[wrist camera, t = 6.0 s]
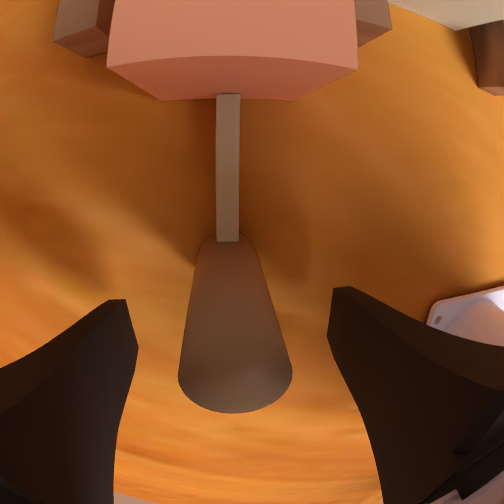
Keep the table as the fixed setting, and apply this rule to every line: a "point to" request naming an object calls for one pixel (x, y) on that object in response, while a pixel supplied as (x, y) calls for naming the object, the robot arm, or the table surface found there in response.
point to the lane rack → (367, 25)
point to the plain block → (455, 11)
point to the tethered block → (232, 160)
